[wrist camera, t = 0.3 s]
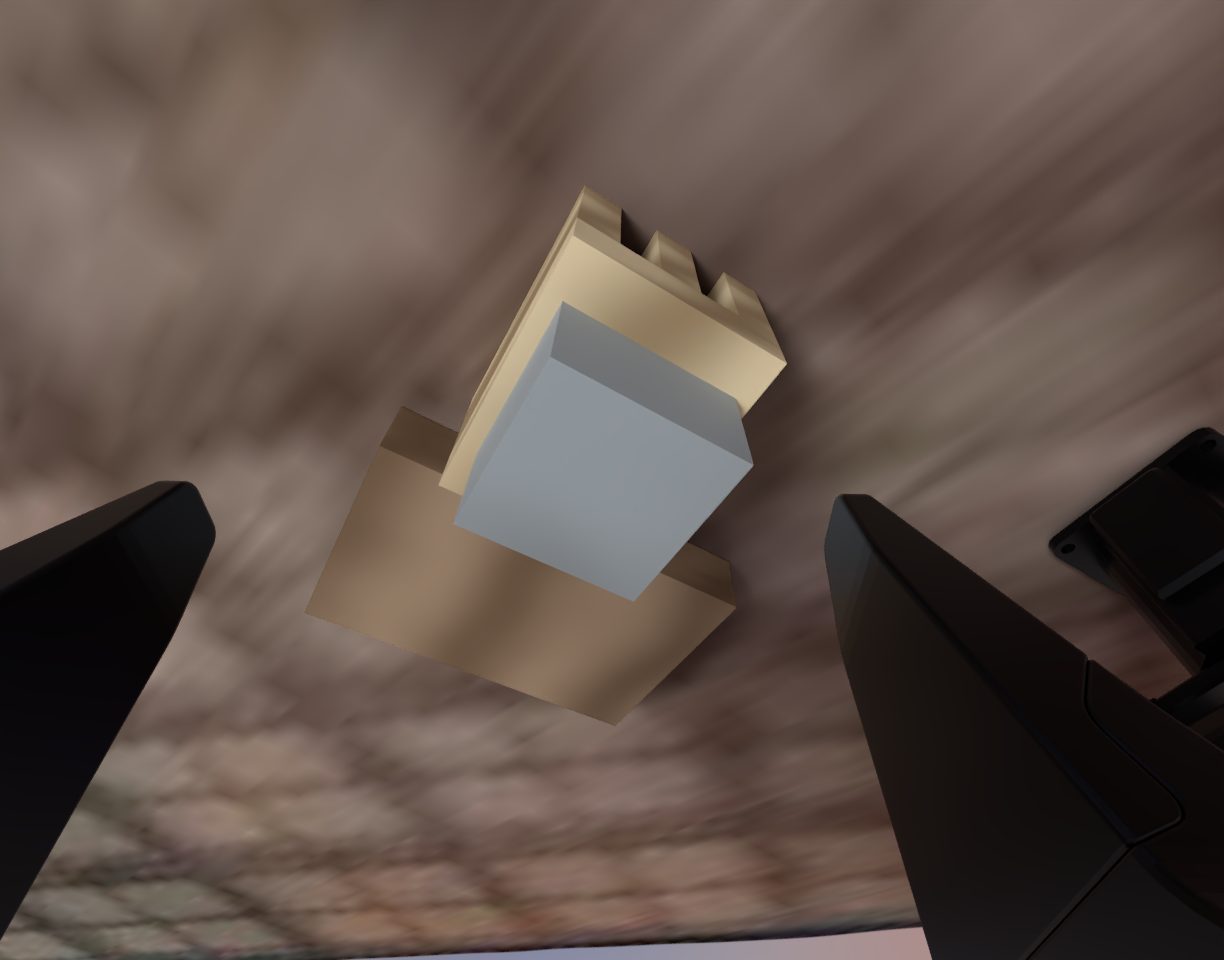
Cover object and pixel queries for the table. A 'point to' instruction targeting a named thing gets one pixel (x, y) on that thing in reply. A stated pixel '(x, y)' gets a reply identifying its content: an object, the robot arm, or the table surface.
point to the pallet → (628, 319)
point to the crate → (603, 458)
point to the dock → (504, 592)
